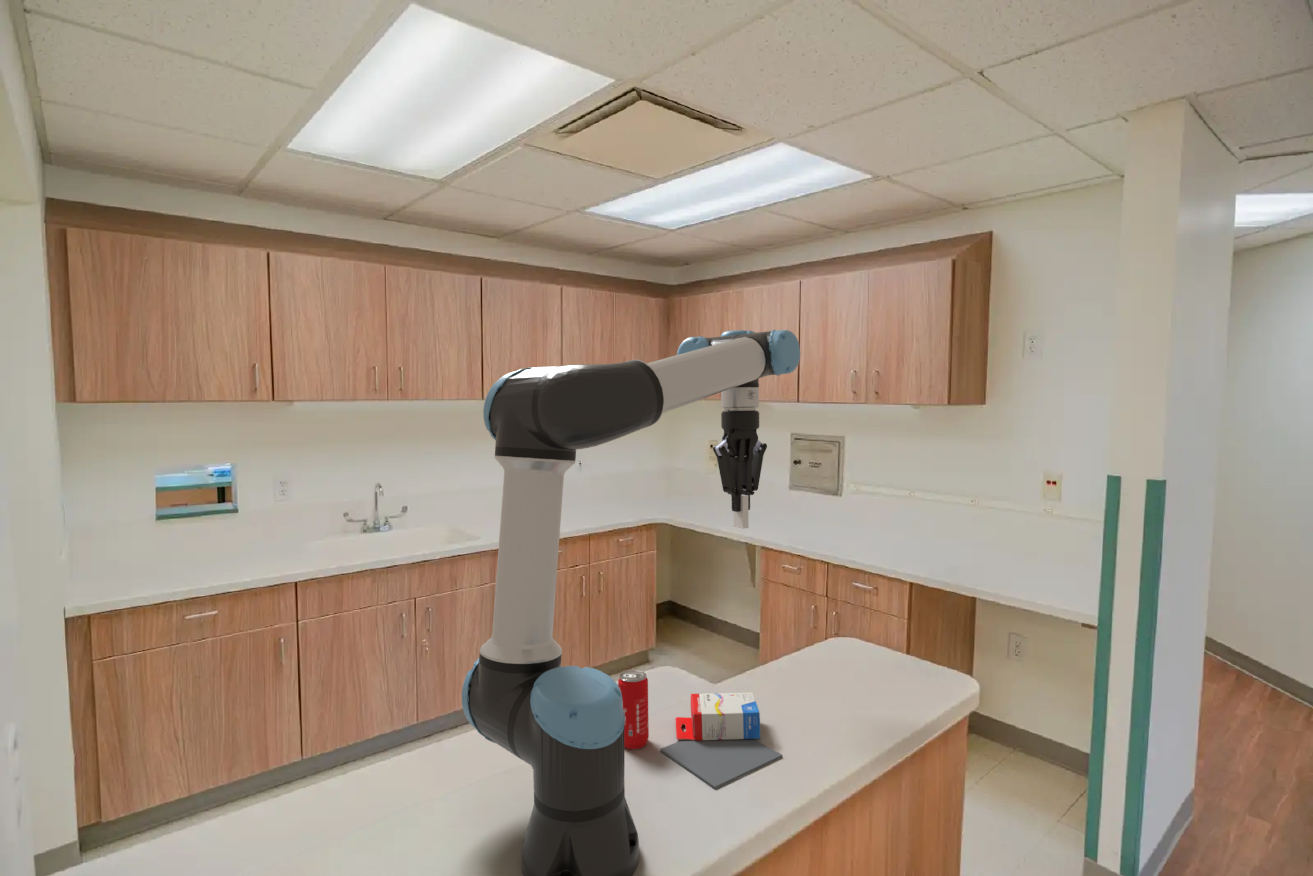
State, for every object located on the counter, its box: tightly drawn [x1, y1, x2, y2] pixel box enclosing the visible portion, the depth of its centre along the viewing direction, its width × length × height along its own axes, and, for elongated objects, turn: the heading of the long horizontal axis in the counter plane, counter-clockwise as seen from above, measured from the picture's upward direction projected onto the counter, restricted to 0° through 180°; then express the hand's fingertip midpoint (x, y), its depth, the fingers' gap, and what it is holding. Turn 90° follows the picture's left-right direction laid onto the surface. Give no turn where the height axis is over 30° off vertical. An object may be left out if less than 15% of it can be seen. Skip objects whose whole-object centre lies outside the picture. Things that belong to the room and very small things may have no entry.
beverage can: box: [617, 669, 650, 751], centre depth 113 cm, size 5×5×12 cm
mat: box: [659, 739, 783, 790], centre depth 109 cm, size 15×14×1 cm
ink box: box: [675, 692, 761, 741], centre depth 117 cm, size 8×5×15 cm
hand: (741, 527), depth 130 cm, fingers closed
